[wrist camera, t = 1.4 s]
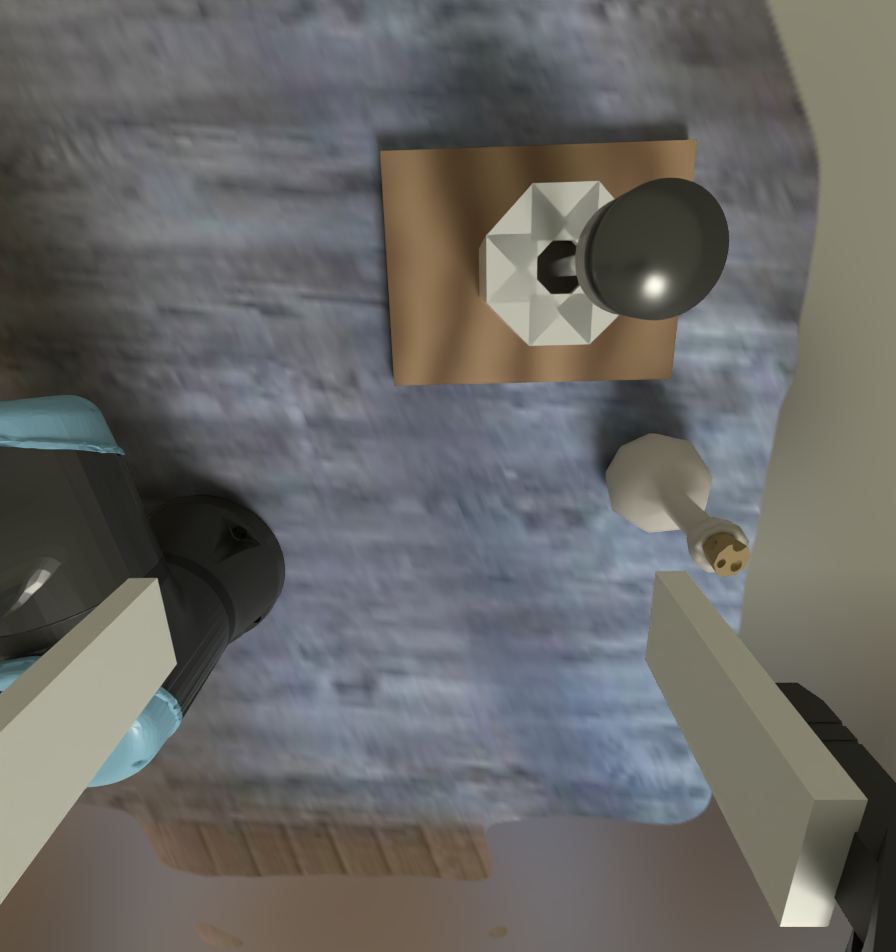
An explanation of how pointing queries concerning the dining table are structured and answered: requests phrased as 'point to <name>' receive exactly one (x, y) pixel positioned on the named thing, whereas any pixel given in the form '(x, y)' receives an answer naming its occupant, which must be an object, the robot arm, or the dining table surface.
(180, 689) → the robot arm
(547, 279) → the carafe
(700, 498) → the potion bottle
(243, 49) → the dining table surface
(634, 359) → the board
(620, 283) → the plunger
